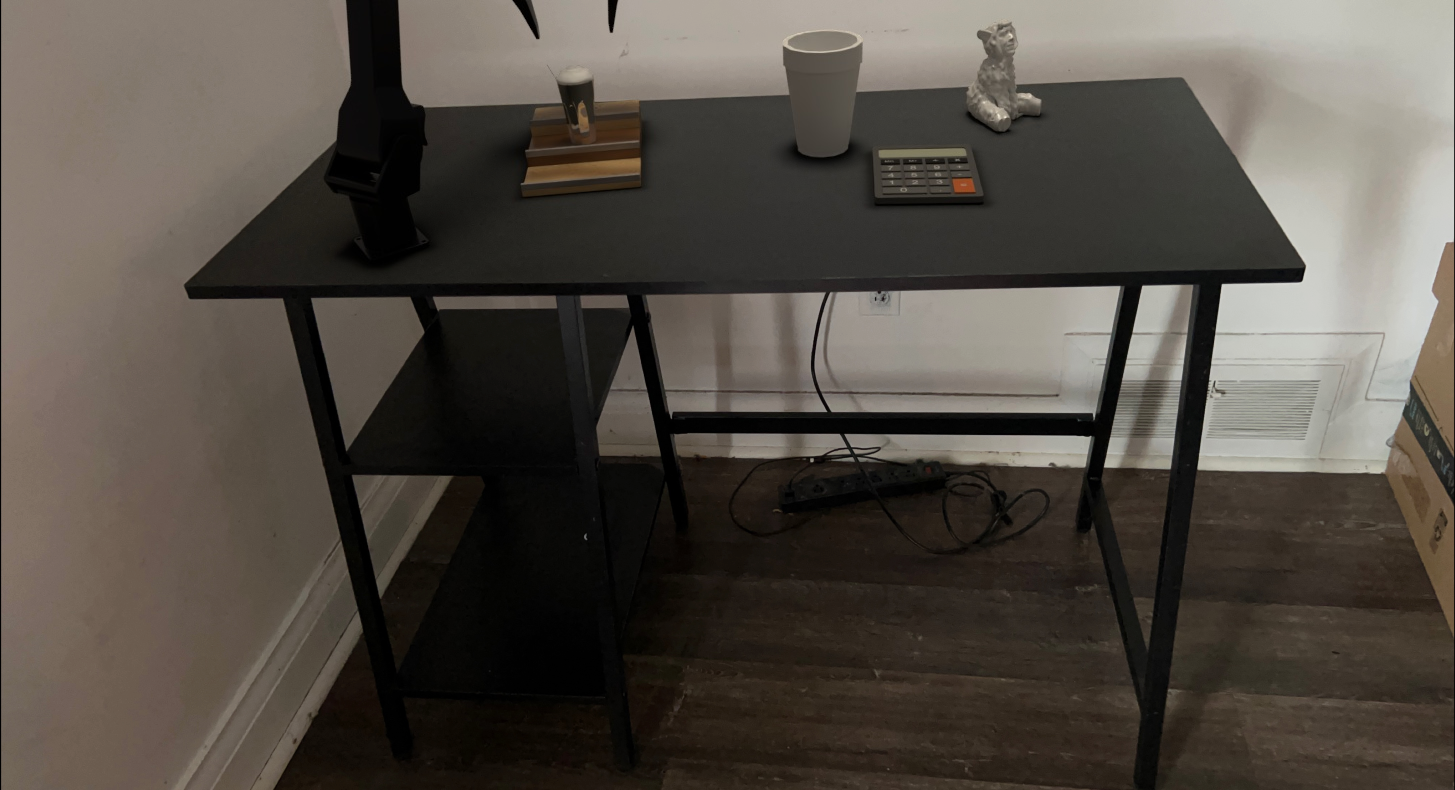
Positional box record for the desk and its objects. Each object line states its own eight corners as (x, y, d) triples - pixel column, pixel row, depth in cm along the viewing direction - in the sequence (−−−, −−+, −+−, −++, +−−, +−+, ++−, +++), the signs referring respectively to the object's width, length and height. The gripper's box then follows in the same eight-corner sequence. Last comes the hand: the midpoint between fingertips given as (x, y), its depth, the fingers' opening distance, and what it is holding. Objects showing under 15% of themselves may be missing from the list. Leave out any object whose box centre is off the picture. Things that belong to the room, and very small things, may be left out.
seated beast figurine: (1001, 135, 119) (1012, 36, 112) (945, 119, 124) (952, 24, 117) (1044, 114, 124) (1057, 18, 117) (988, 100, 129) (998, 7, 122)
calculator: (875, 196, 104) (872, 144, 116) (874, 204, 105) (872, 151, 117) (984, 194, 103) (970, 142, 115) (983, 202, 103) (969, 149, 115)
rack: (641, 187, 113) (637, 154, 110) (522, 197, 113) (516, 165, 110) (641, 122, 131) (638, 93, 128) (539, 131, 130) (534, 102, 128)
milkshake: (557, 139, 122) (543, 59, 116) (598, 132, 123) (587, 53, 117) (563, 151, 118) (549, 70, 112) (605, 144, 119) (594, 63, 114)
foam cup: (874, 152, 117) (877, 44, 109) (805, 167, 114) (804, 58, 107) (838, 128, 124) (839, 25, 117) (773, 142, 122) (769, 38, 114)
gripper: (634, -121, 117) (649, 12, 126) (482, -108, 117) (508, 24, 126) (633, -106, 108) (649, 36, 117) (468, -92, 108) (497, 49, 117)
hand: (575, 35), depth 119 cm, fingers open, 9 cm apart
